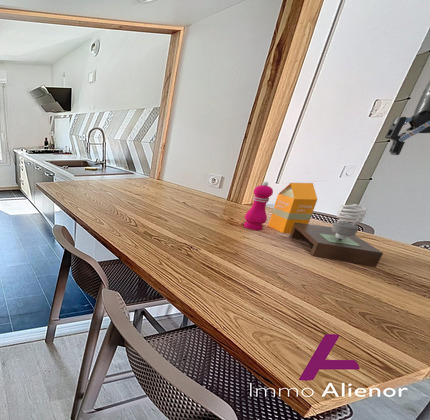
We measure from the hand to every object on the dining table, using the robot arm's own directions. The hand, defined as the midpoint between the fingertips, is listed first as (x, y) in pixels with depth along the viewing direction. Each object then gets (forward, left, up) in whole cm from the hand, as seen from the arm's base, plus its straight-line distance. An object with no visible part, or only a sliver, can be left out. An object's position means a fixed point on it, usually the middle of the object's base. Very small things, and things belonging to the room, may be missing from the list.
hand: (416, 155), depth 69 cm
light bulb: (+10, +4, -27) cm, 29 cm away
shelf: (+10, 0, -33) cm, 35 cm away
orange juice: (+16, -18, -33) cm, 41 cm away
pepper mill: (+28, -14, -33) cm, 46 cm away
